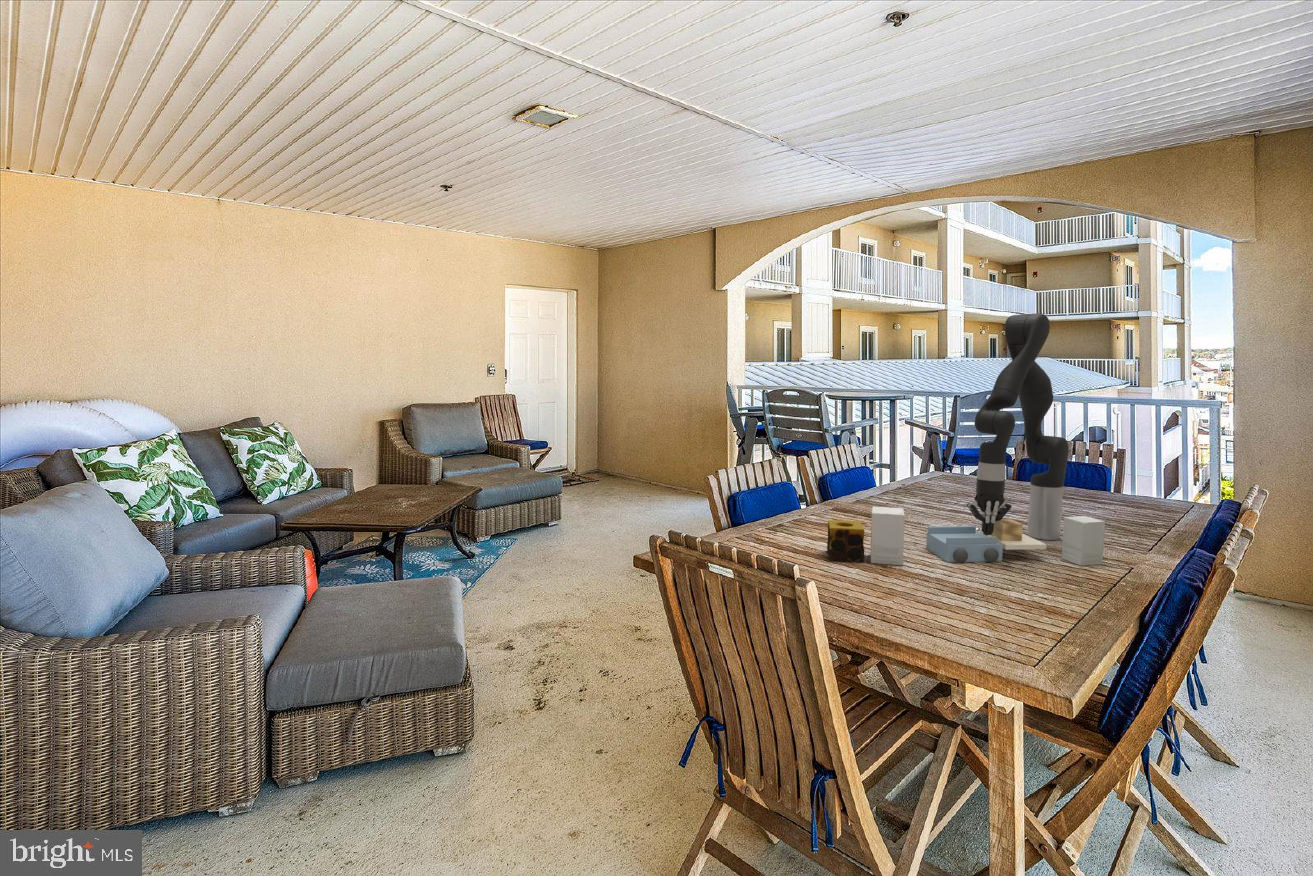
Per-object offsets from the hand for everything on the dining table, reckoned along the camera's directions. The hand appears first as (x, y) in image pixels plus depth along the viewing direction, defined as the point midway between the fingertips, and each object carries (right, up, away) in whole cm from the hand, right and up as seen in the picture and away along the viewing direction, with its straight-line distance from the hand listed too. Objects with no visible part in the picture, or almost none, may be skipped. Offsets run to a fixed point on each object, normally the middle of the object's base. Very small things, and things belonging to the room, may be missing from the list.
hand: (987, 534), depth 196 cm
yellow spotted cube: (-43, -7, -1) cm, 43 cm away
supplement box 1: (-32, -7, -4) cm, 33 cm away
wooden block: (+6, -1, 0) cm, 6 cm away
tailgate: (+1, -2, 0) cm, 2 cm away
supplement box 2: (+24, -7, -7) cm, 26 cm away
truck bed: (-7, -6, +1) cm, 9 cm away
